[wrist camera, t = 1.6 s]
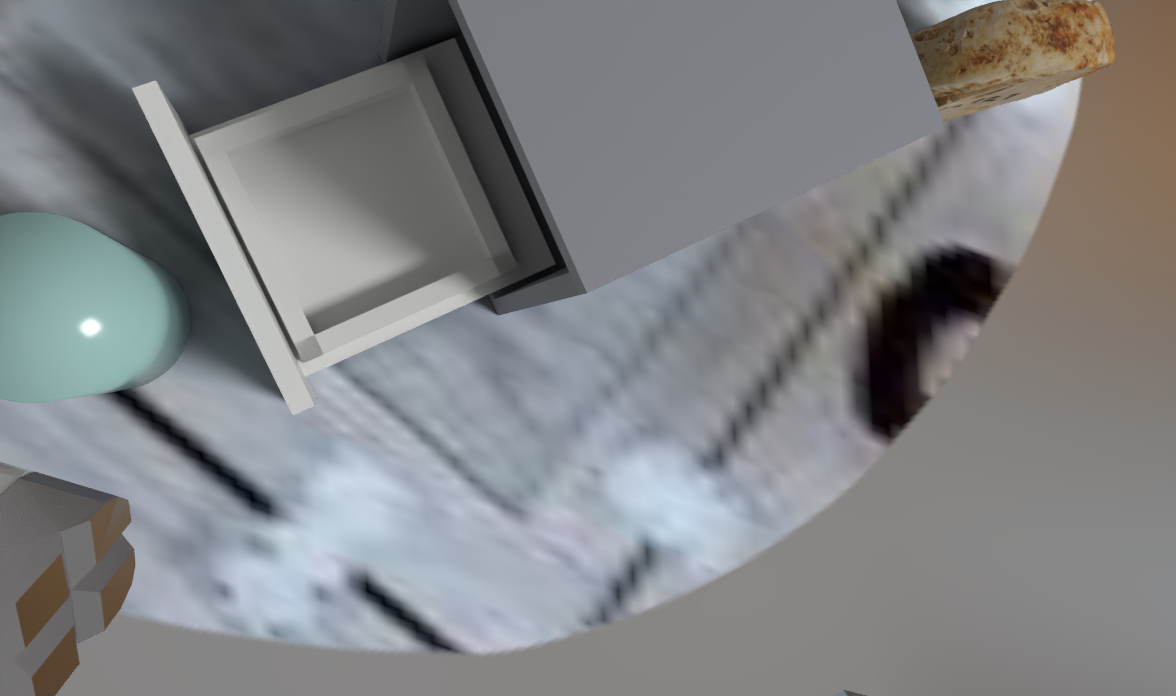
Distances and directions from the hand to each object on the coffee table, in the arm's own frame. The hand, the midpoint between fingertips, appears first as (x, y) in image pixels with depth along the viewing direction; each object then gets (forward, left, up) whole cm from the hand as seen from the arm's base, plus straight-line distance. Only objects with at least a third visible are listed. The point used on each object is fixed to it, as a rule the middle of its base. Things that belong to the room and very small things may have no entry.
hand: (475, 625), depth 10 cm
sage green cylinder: (-10, +2, -28) cm, 30 cm away
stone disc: (+22, +20, -28) cm, 41 cm away
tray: (-2, +9, -28) cm, 29 cm away
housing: (+6, +14, -28) cm, 32 cm away
